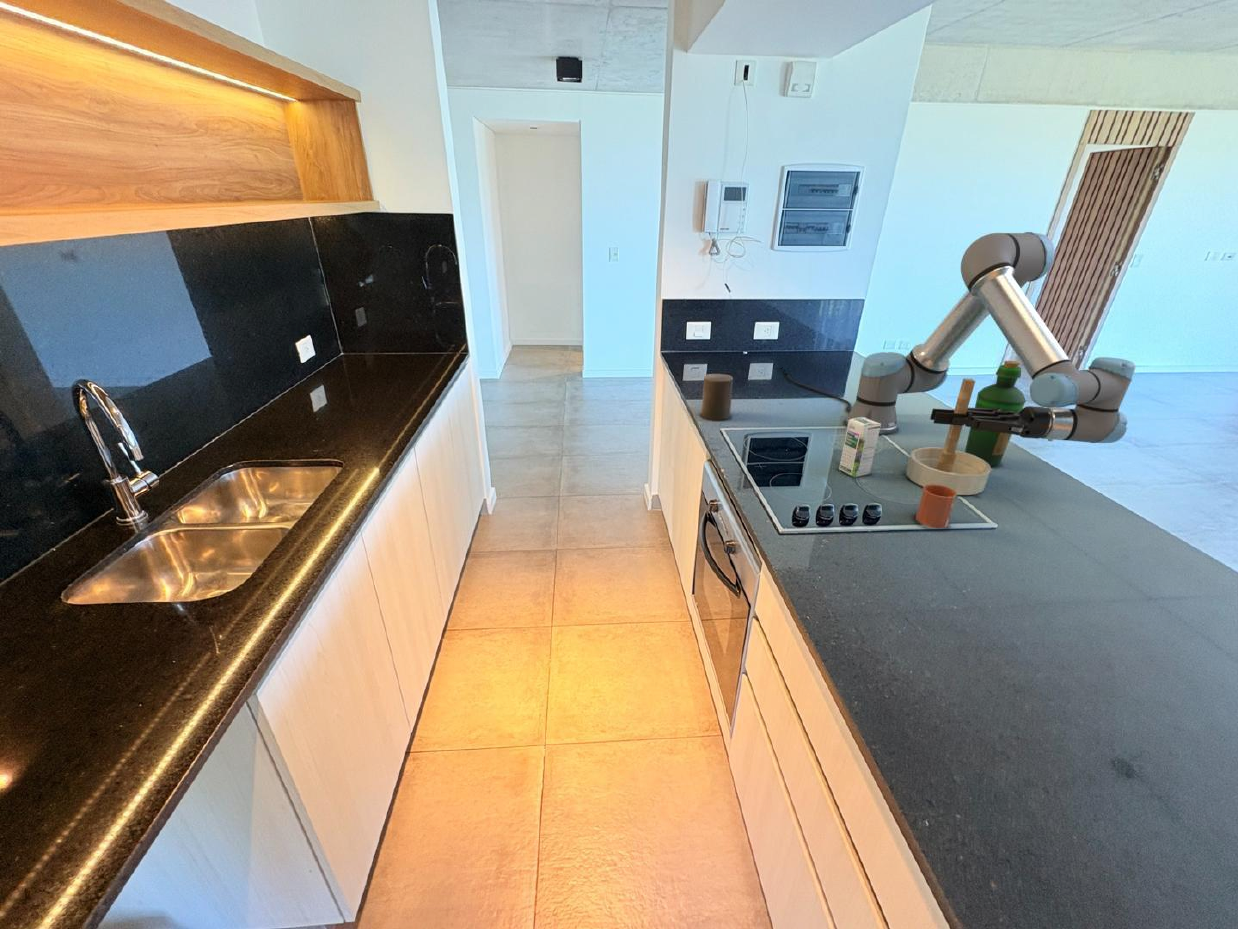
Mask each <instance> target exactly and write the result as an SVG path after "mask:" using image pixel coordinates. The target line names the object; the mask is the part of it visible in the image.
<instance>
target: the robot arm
mask: <svg viewBox="0 0 1238 929" xmlns="http://www.w3.org/2000/svg"><path fill="white" fill-rule="evenodd" d="M1055 251H1056V250H1055V246H1054V243H1053V241H1052V239H1050V237H1048V236H1047V235H1045V234H1043V233H1039V232H1033V231H1025V232H991V233H988V234H985V235H983V236H980V237H979V238H977V239H976V240H974V241H973V242H971V243H970V245H969V246H968V247H967V248H966V250H965V251H964V252H963V255H962V258H961V261H960V274H961V278H962V280H963V283H964V285H965V287H966V289H967V290H966V291H965V292H964V294H962V296H961V298H959V300H958V301H957V302H956V304H954V305H953V307H952V309H951V310H950V311H949V312H948V314H946V316H945V317H944V318H943V319H942V321H941V322H940V323H939V324H938V325H937V327H936V328H935V329H934V330H933V331H932V333H931V334H930V335H929V336H928V338H926V340H925V341H924V342H923V343H919V344H916V345H914V346H913V348H912V349H911V350H910V352H909V353H908V354H907V355H904V354H902V353H899V352H894V351H888V352H885V351H882V352H875V353H872V354H869V355H868V356H866V357H865V358H864V360H863V364H862V366H861V369H860V377H859V383H858V388H857V393H856V398H855V402H854V403H853V405H852V407H851V403H850V402H849V401H848V400H846V399H845V398H842V397H839V396H837V395H834V394H832V393H829V392H826V391H823V390H820V389H817V388H814V387H811V386H809V385H805V384H803V383H801V382H799V381H796V380H795V379H794V378H791V377H790V376H789V375H788V376H789V377H788V376H786V378H787V379H788V380H789V381H791V382H792V383H794V384H796V385H798V386H800V387H803V388H806V389H809V390H811V391H814V392H817V393H819V394H822V395H825V396H828V397H832V398H833V399H836V400H839V401H841V402H843V403H845V404H847V407H846V411H847V412H849V413H848V414H847V416H846V418H845V425H846V426H847V427H848V422H849V420H850V419H853V418H859V417H865V418H867V419H869V420H872V421H874V422H877V423H880V424H881V427H880V431H879V435H888V434H893V433H895V432H896V431H897V428H898V418H897V410H896V406H897V405H896V404H897V401H898V396H899V395H903V394H904V395H905V394H916V393H927V392H930V391H934V390H936V389H939V387H941V386H942V385H943V384H944V383H945V381H947V378H948V375H949V374H948V372H949V369H950V368H949V367H950V366H951V365H950V364H951V363H950V359H951V358H952V356H953V355H954V354H955V353H956V352H957V351H958V350H959V349H960V347H961V346H962V345H963V344H964V343H965V342H966V341H967V340H968V339H969V338H970V337H971V335H972V334H974V332H975V331H976V330H977V329H978V328H979V327H980V326H981V325H982V323H983V322H984V321H985V320H986V319H987V318H988V317H989V315H990V316H991V318H992V319H993V321H994V323H995V324H996V326H997V327H998V329H999V330H1000V332H1001V333H1002V335H1003V337H1004V338H1005V340H1006V341H1007V343H1008V344H1009V346H1010V347H1011V349H1012V351H1013V352H1014V354H1015V355H1016V357H1017V358H1018V360H1019V361H1020V364H1022V366H1023V367H1024V369H1025V370H1026V372H1027V373H1028V375H1029V376H1030V379H1031V380H1032V381H1031V383H1030V385H1029V396H1030V399H1031V401H1033V403H1034V404H1035V405H1038V406H1033V405H1029V406H1028V405H1027V406H1025V407H1023V409H1022V410H1021V411H1020V412H1019V413H1015V412H1014V411H1001V410H1002V408H1000V407H998V408H975V407H968V409H967V412H966V414H958V413H954V410H955V409H946V408H932V410H931V414H930V418H929V419H930V420H931V421H933V422H932V423H933V424H934V425H949V426H950V425H963V426H964V427H966V428H970V427H971V429H973V430H982V431H991V432H1001V433H1009V434H1012V435H1015V436H1019V437H1020V438H1022V439H1023V438H1024V439H1034V440H1035V439H1036V440H1038V439H1042V440H1047V441H1048V442H1053V441H1055V440H1056V441H1068V442H1069V441H1070V442H1079V443H1089V444H1114V443H1116V442H1119V441H1120V440H1121V439H1122V438H1124V436H1125V434H1126V432H1127V430H1128V427H1127V425H1128V419H1127V416H1126V415H1125V413H1123V412H1121V411H1120V408H1121V406H1122V403H1123V400H1124V399H1125V396H1126V393H1127V391H1128V389H1129V387H1130V384H1131V382H1132V381H1133V376H1134V373H1135V370H1136V364H1135V363H1134V362H1133V361H1131V360H1128V359H1124V358H1119V357H1108V356H1100V357H1099V356H1098V357H1096V358H1094V359H1093V360H1092V361H1091V363H1090V365H1089V366H1088V368H1087V369H1080V370H1078V369H1077V368H1076V366H1075V364H1073V362H1072V361H1071V359H1070V358H1069V357H1068V354H1066V352H1065V351H1064V349H1063V348H1062V346H1061V344H1060V343H1059V342H1058V340H1057V339H1056V338H1055V336H1054V334H1053V333H1052V331H1051V330H1050V329H1049V327H1048V326H1047V325H1046V323H1045V321H1044V320H1043V318H1042V317H1041V315H1040V314H1039V313H1038V311H1037V310H1036V308H1035V307H1034V305H1033V304H1032V302H1031V301H1030V299H1029V298H1028V296H1027V294H1026V293H1025V292H1024V291H1023V289H1022V288H1023V287H1024V286H1025V285H1026V284H1027V283H1031V282H1035V281H1037V280H1039V279H1041V278H1043V277H1044V276H1046V274H1048V272H1049V271H1050V270H1051V268H1052V266H1053V264H1054V261H1055V257H1056V256H1055ZM1070 406H1074V408H1067V407H1070ZM850 408H851V409H850Z"/></svg>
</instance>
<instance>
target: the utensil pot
mask: <svg viewBox="0 0 1238 929" xmlns="http://www.w3.org/2000/svg"><path fill="white" fill-rule="evenodd" d="M957 497H958V495H956V492H955V491H954V490H952V489H950V488H948V487H945V486H941V485H934V484H931V485H926V486H924V487H923V488H922V491H921V494H920V498H919V503H918V506H917V509H916V514H915V520H916V521H917V522H918V523H919V524H921V525H923V526H925V527H928V528H932V529H945V528H946V527H947V526H948V525H949V523H950V520H951V519H950V518H951V515H952V512H953V509H954V505H955V502H956V498H957Z"/></svg>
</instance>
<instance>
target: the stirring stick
mask: <svg viewBox="0 0 1238 929" xmlns="http://www.w3.org/2000/svg"><path fill="white" fill-rule="evenodd" d="M975 384H976V379H975V380H974V379H973V378H962V381H961V385H960V389H959V392H958V397H957V400H956V403H955V407H954V409H953V410H954V413H958V414H966V412H967V409H968V408H969V405H970V401H971V398H972V395H973V392H974V388H975ZM963 426H964V425H949V428H948V432H947V434H946V435H947V436H946V439H945V442H944V446H943V448H944V450H943V452H941V453H940V456H939V460H938V464H937V467H936V470H940V471H944V472H951V471H952V468H953V465H954V461H955V458H956V454H955V450H957V447H958V443H959V440H960V436H961V433H962V430H963Z"/></svg>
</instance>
